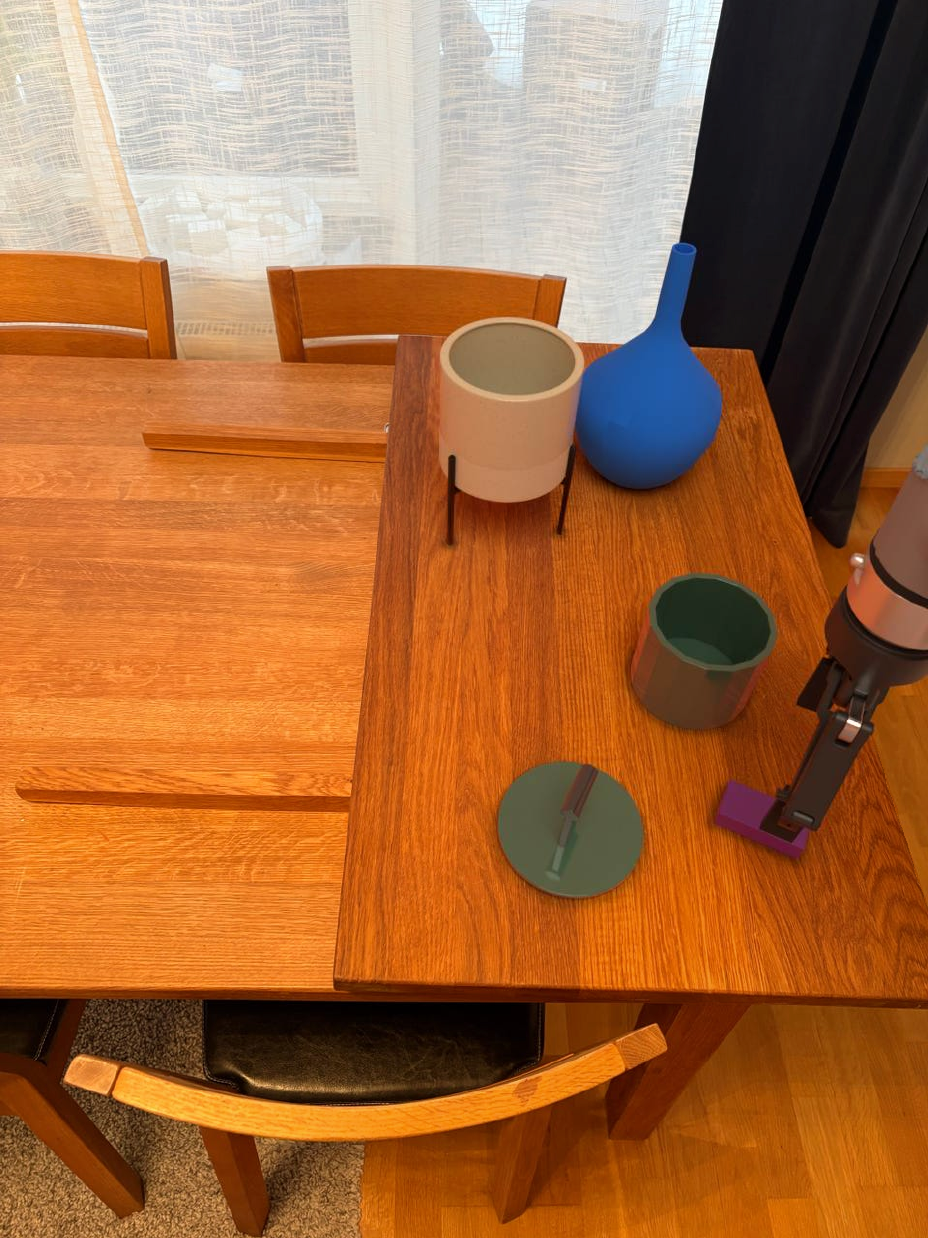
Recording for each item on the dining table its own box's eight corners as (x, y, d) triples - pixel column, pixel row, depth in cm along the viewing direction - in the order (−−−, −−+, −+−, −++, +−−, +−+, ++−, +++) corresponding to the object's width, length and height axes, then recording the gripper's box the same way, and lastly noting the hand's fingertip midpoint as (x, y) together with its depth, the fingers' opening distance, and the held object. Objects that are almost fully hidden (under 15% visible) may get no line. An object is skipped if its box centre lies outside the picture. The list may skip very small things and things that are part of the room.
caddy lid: (660, 802, 83) (679, 757, 76) (611, 928, 75) (629, 890, 68) (531, 746, 86) (539, 699, 80) (472, 860, 78) (476, 818, 72)
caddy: (758, 661, 94) (789, 599, 86) (729, 748, 87) (759, 689, 79) (651, 621, 97) (671, 557, 89) (614, 701, 90) (632, 640, 82)
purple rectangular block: (805, 824, 82) (813, 813, 80) (796, 859, 79) (804, 849, 78) (724, 789, 84) (730, 778, 82) (712, 823, 82) (718, 812, 80)
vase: (544, 434, 118) (572, 218, 95) (664, 412, 122) (718, 200, 99) (597, 524, 107) (643, 305, 84) (727, 496, 111) (804, 280, 88)
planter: (543, 466, 114) (564, 308, 96) (572, 552, 104) (601, 394, 86) (430, 476, 112) (429, 316, 94) (448, 565, 102) (451, 405, 84)
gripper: (874, 480, 65) (784, 647, 82) (803, 730, 51) (712, 872, 67) (977, 512, 63) (864, 677, 80) (934, 782, 49) (807, 915, 65)
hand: (794, 767), depth 74 cm, fingers open, 13 cm apart
